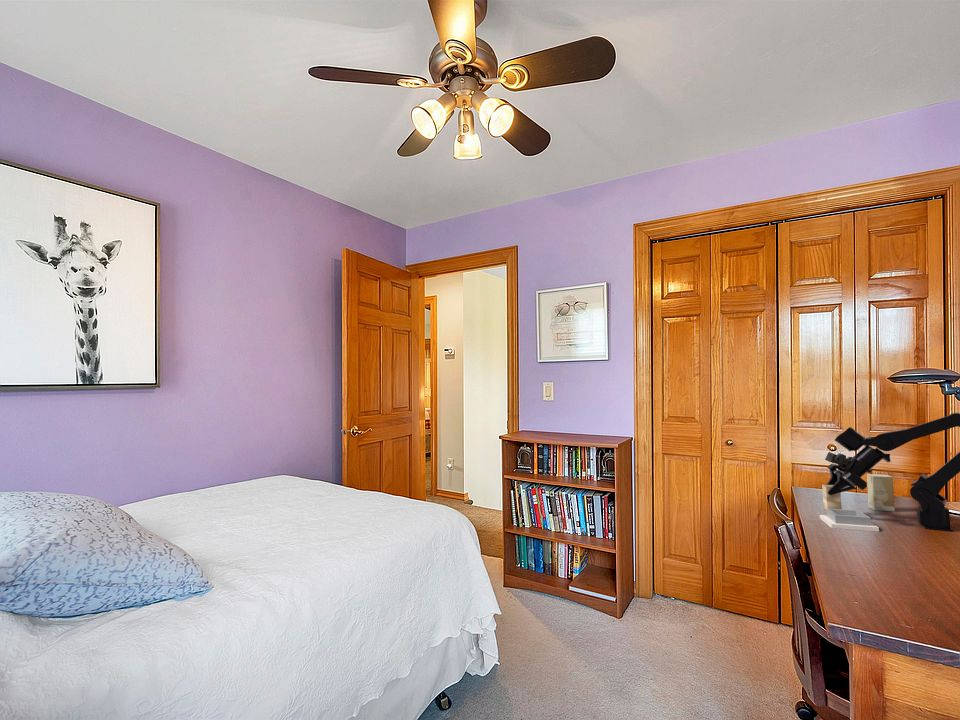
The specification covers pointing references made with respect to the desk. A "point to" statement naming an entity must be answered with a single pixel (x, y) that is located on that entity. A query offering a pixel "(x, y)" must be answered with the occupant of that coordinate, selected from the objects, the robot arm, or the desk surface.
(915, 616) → the desk surface
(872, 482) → the skincare box
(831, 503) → the block
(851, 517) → the square tray
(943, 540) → the desk surface
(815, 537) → the desk surface
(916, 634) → the desk surface
